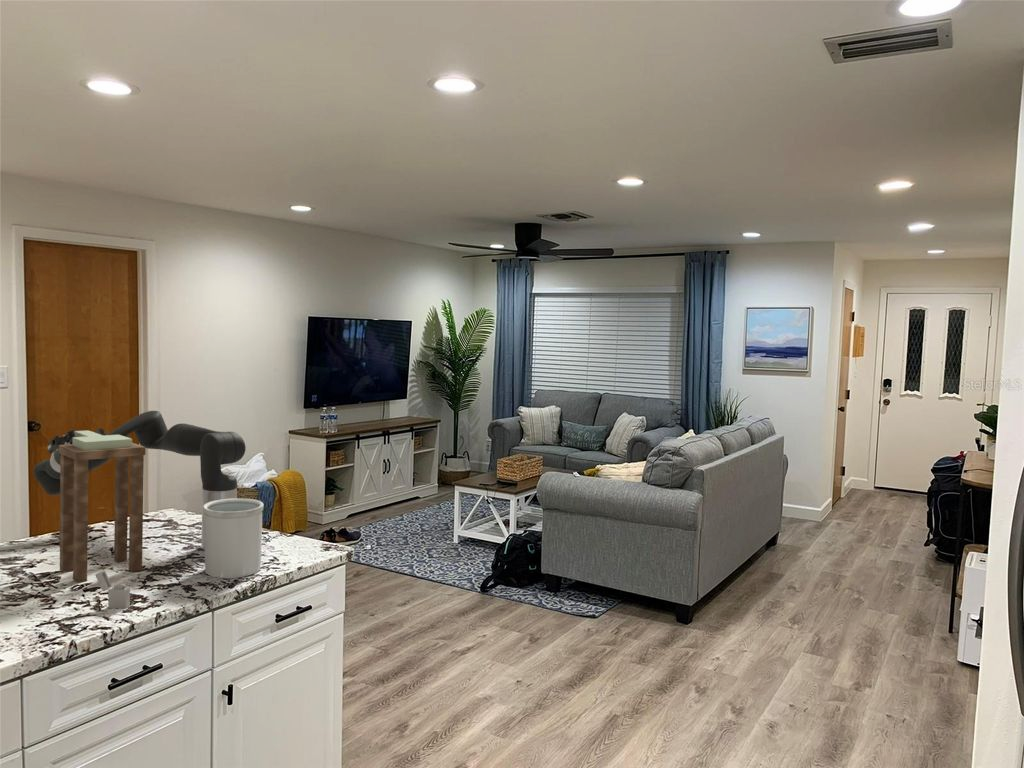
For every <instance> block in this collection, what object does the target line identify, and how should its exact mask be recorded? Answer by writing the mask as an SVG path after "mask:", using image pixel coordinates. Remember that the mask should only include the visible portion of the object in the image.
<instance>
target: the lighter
mask: <svg viewBox="0 0 1024 768" xmlns="http://www.w3.org/2000/svg"><path fill="white" fill-rule="evenodd" d="M95 577H96V580H97V582H98V584H99V586H100V588H101V591H102V592H105V591H107V590H108V592H107V593H108V596H107V599H108V601H107V602H108V603H107V605H108V607H107V608H108V609H118V610H119V609H121V610H126V609H128V608H130V607H131V600H130V599H131V588H130V587H126V585H125V584H124V583H118V582H117V583H115V584H114V585H112V582H111V581H110V579H109V577H108V574H107V573H106V570H102V571H99V572H98V573H96V574H95Z"/></svg>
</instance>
